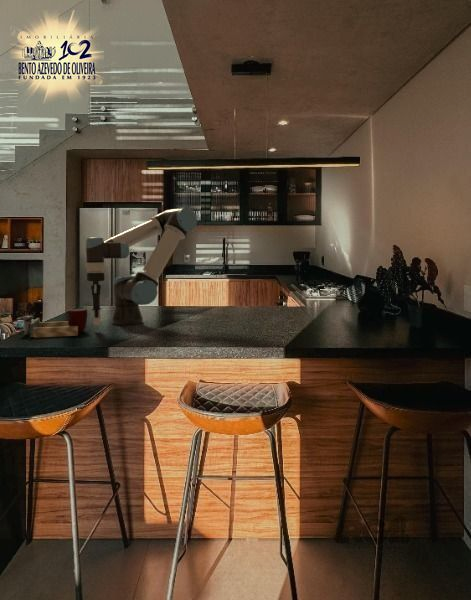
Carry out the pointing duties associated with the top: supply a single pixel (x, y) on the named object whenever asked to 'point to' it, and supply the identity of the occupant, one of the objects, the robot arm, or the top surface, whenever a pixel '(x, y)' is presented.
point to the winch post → (27, 324)
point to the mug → (77, 318)
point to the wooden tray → (52, 329)
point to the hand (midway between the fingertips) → (97, 324)
